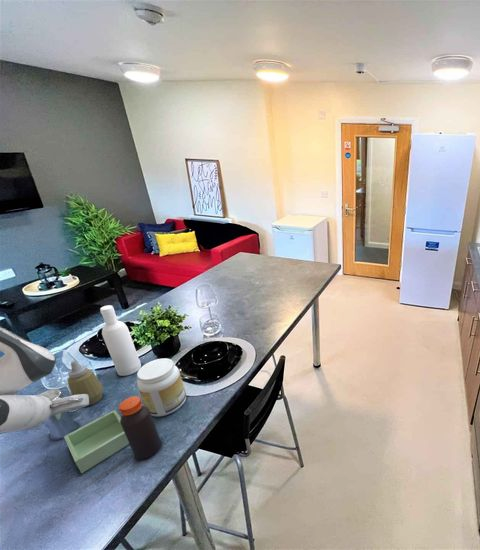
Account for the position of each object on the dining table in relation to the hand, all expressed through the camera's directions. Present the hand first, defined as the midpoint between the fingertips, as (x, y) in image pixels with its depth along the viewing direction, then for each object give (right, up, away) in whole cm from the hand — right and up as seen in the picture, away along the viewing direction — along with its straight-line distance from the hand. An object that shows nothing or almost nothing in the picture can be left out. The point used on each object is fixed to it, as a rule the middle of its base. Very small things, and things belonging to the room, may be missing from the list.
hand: (54, 411), depth 91 cm
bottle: (0, +4, +29) cm, 29 cm away
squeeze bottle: (-2, -3, +14) cm, 15 cm away
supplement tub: (+26, -4, +14) cm, 30 cm away
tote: (+16, -10, 0) cm, 19 cm away
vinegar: (+31, -11, -1) cm, 33 cm away
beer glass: (0, -8, +3) cm, 9 cm away
